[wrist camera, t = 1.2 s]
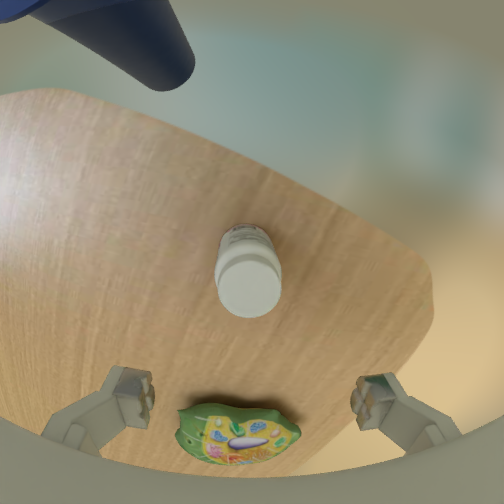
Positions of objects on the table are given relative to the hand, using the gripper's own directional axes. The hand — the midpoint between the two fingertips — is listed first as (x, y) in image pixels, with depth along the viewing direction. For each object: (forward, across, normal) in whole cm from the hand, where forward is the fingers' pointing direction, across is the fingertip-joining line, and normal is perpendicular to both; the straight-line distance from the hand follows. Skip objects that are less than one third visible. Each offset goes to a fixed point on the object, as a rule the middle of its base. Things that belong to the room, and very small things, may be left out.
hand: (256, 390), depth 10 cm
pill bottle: (+17, 0, 0) cm, 17 cm away
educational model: (+17, 0, +24) cm, 29 cm away
